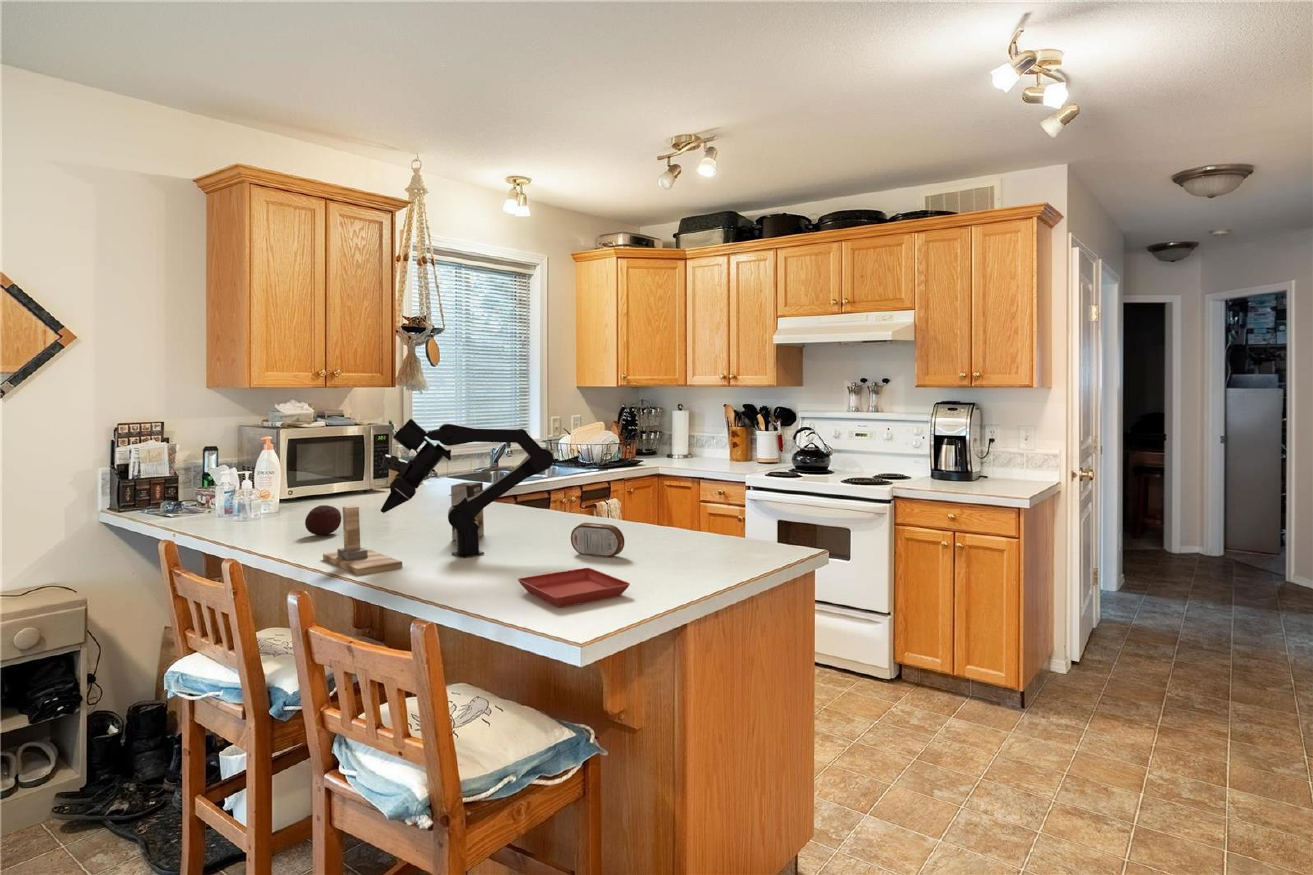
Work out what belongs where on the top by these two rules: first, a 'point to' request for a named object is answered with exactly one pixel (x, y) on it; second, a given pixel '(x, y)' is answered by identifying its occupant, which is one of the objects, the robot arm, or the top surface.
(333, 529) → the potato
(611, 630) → the top surface
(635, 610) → the top surface
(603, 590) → the plant saucer
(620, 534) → the tin
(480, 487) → the coffee box
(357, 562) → the board
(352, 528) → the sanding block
